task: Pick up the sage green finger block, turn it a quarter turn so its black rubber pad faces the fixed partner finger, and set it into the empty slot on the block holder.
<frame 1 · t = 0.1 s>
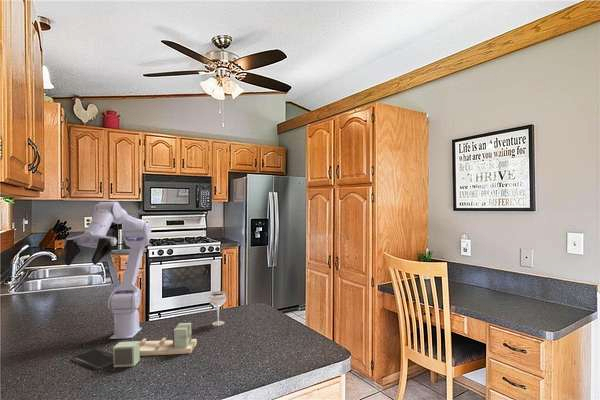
hand: (80, 263, 102), 32 cm above the countertop, tool tilted 50°, fingers open, 7 cm apart
finger block: (127, 363, 106), on the countertop
wineglass: (218, 323, 139), on the countertop
block holder: (163, 349, 116), on the countertop
phone: (96, 361, 109), on the countertop
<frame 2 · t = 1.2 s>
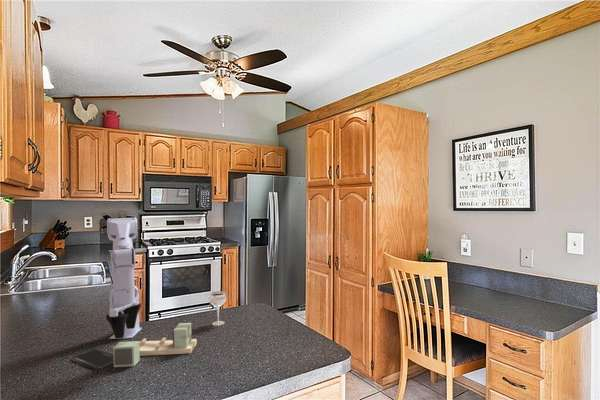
hand: (125, 332, 106), 10 cm above the countertop, tool pointing down, fingers open, 7 cm apart
nothing on the countertop moved.
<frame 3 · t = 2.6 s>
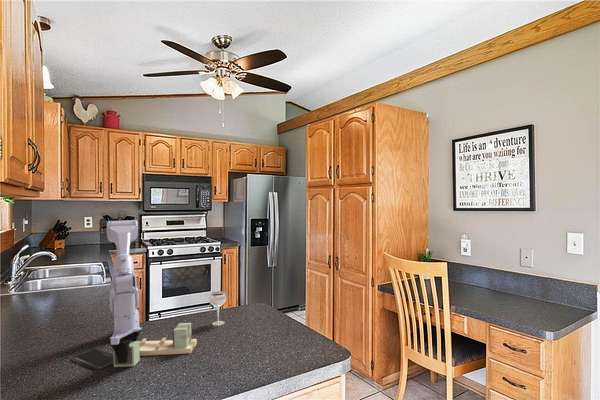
hand: (126, 358, 106), 2 cm above the countertop, tool pointing down, fingers closed on finger block, 5 cm apart
finger block: (126, 363, 106), on the countertop, touching gripper
everything else where it was.
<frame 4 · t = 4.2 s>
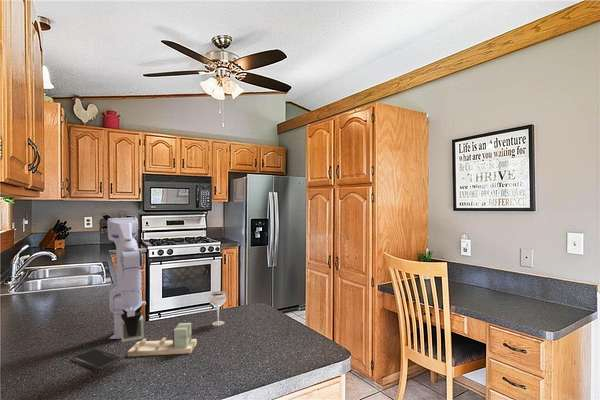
hand: (132, 332, 109), 9 cm above the countertop, tool pointing down, fingers closed on finger block, 5 cm apart
finger block: (132, 337, 109), point 7 cm above the countertop, touching gripper
everything else where it was.
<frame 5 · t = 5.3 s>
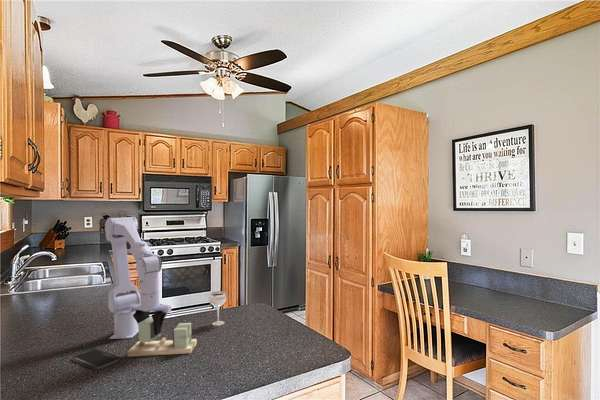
hand: (150, 333, 115), 6 cm above the countertop, tool pointing down, fingers closed on finger block, 5 cm apart
finger block: (150, 338, 115), point 4 cm above the countertop, touching gripper
everything else where it was.
when the fingers open (4 cm above the countertop, at t = 6.1 s): finger block stays where it is, resting on block holder.
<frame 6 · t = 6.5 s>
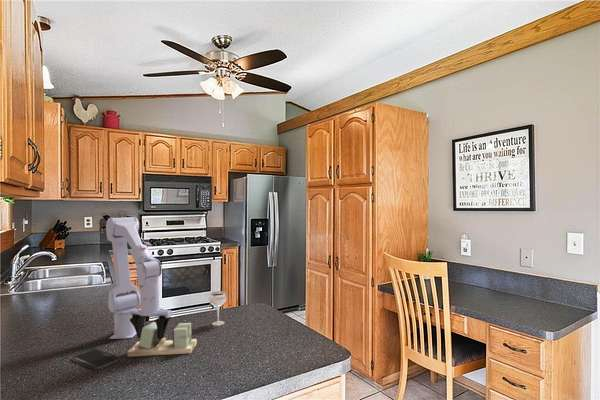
hand: (150, 337, 115), 4 cm above the countertop, tool pointing down, fingers open, 7 cm apart
finger block: (149, 343, 115), point 2 cm above the countertop, tilted 14°, touching block holder
everything else where it was.
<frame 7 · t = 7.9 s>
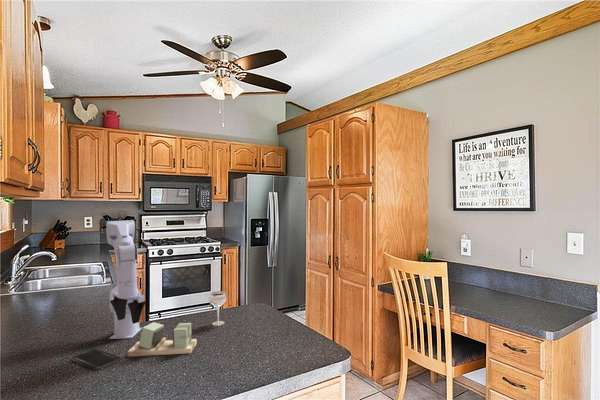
hand: (128, 321, 117), 9 cm above the countertop, tool pointing down, fingers open, 7 cm apart
nothing on the countertop moved.
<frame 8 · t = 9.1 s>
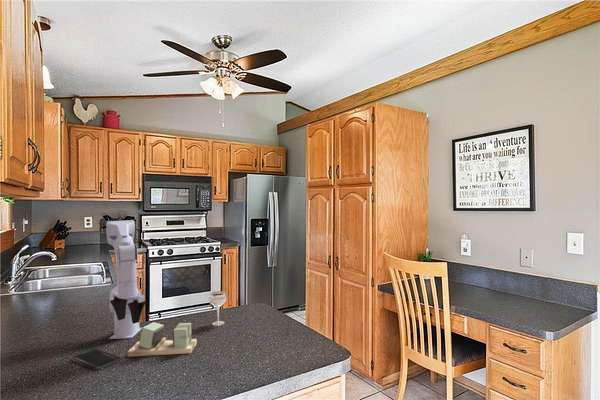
hand: (128, 321, 117), 9 cm above the countertop, tool pointing down, fingers open, 7 cm apart
nothing on the countertop moved.
at the end: finger block 0.1 cm from the target spot on the block holder, point 2.1 cm above the block holder's base; finger block tilted 14°; the gripper is holding nothing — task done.
